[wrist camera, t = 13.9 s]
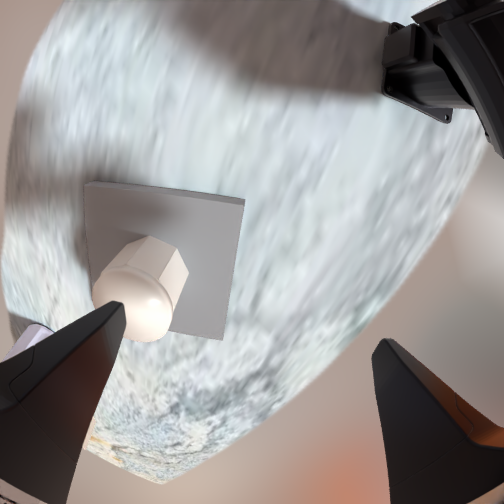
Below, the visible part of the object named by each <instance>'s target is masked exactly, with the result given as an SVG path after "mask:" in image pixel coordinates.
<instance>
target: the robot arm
mask: <svg viewBox="0 0 504 504" xmlns="http://www.w3.org/2000/svg"><path fill="white" fill-rule="evenodd" d="M411 18H412V19H413V20H414V21H415V22H416V23H417V24H419V25H417V24H415V23H413V24H410V25H408V26H406V27H405V26H403V25H401V24H399V23H397V22H393V23H391V24H390V25H389V33H388V36H387V37H386V38H385V44H384V53H383V60H382V65H383V67H384V74H383V80H382V86H381V90H382V92H383V94H384V95H386V96H388V97H390V98H393V99H395V100H398V101H400V102H402V103H404V104H407V105H409V106H411V107H413V108H415V109H417V110H419V111H421V112H423V113H425V114H427V115H429V116H431V117H433V118H435V119H437V120H439V121H441V122H443V123H446V124H448V123H450V122H451V119H452V112H453V108H459V109H473V110H475V111H476V113H477V115H478V117H479V119H480V121H481V123H482V126H483V128H484V130H485V136H486V138H487V140H488V142H489V143H491V144H492V145H493V147H494V149H495V151H496V152H497V153H498V154H499V155H500V156H501V157H502V158H503V159H504V0H439V1H437V2H436V3H434V4H432V5H430V6H428V7H427V8H425V9H423V10H421V11H420V12H418V13H416V14H415V15H413V16H411ZM394 26H395V27H397V29H398V30H396V29H395V28H394ZM387 86H388V87H389V88H390V92H388V91H387ZM445 115H446V119H445ZM126 324H127V321H126V314H125V307H124V304H123V303H122V302H118V301H113V300H112V301H110V302H108V303H106V304H104V305H103V306H101V307H99V308H97V309H95V310H94V311H92V312H90V313H88V314H87V315H85V316H83V317H81V318H79V319H78V320H76V321H74V322H72V323H71V324H69V325H67V326H65V327H64V328H62V329H60V330H58V331H57V332H55V333H53V334H51V335H50V336H48V337H46V338H45V339H43V340H41V341H39V342H38V343H36V344H35V346H34V345H32V346H31V347H29V348H27V349H26V350H24V351H22V352H20V353H19V354H17V355H15V356H13V357H11V358H9V359H7V360H5V361H3V362H1V363H0V504H39V501H40V500H41V501H43V502H45V503H47V504H66V501H67V497H68V493H69V490H70V486H71V482H72V479H73V475H74V472H75V469H76V465H77V462H78V459H79V455H80V452H81V449H82V446H83V443H84V440H85V438H86V435H87V432H88V429H89V426H90V423H91V421H92V418H93V415H94V413H95V410H96V408H97V405H98V402H99V400H100V397H101V395H102V392H103V390H104V387H105V385H106V383H107V380H108V378H109V376H110V373H111V371H112V368H113V366H114V363H115V360H116V357H117V354H118V350H119V347H120V344H121V341H122V338H123V335H124V332H125V329H126ZM372 368H373V377H374V386H375V394H376V400H377V405H378V411H379V416H380V421H381V427H382V433H383V440H384V447H385V454H386V461H387V468H388V477H389V487H390V489H389V490H390V502H391V504H504V428H503V427H500V426H498V425H496V424H495V423H493V422H492V421H491V420H489V419H488V418H487V417H485V416H484V415H483V414H481V413H480V412H479V411H477V410H476V409H475V408H473V407H472V406H471V405H469V403H467V402H466V401H465V400H464V399H462V398H461V397H460V396H459V395H458V394H457V393H456V392H455V393H454V391H453V390H452V389H451V388H450V387H449V386H448V385H446V384H445V383H444V382H443V381H442V380H441V379H440V378H438V377H437V376H436V375H435V374H434V373H432V372H431V371H430V370H429V369H428V368H427V367H425V366H424V365H423V364H422V363H421V362H420V361H418V360H417V359H416V358H415V357H414V356H412V355H411V354H410V353H409V352H408V351H407V350H405V349H404V348H403V347H402V346H400V345H399V344H398V343H397V342H396V341H394V340H393V339H391V338H384V339H382V340H381V341H380V342H379V344H378V346H377V347H376V349H375V350H374V352H373V354H372Z"/></svg>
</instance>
